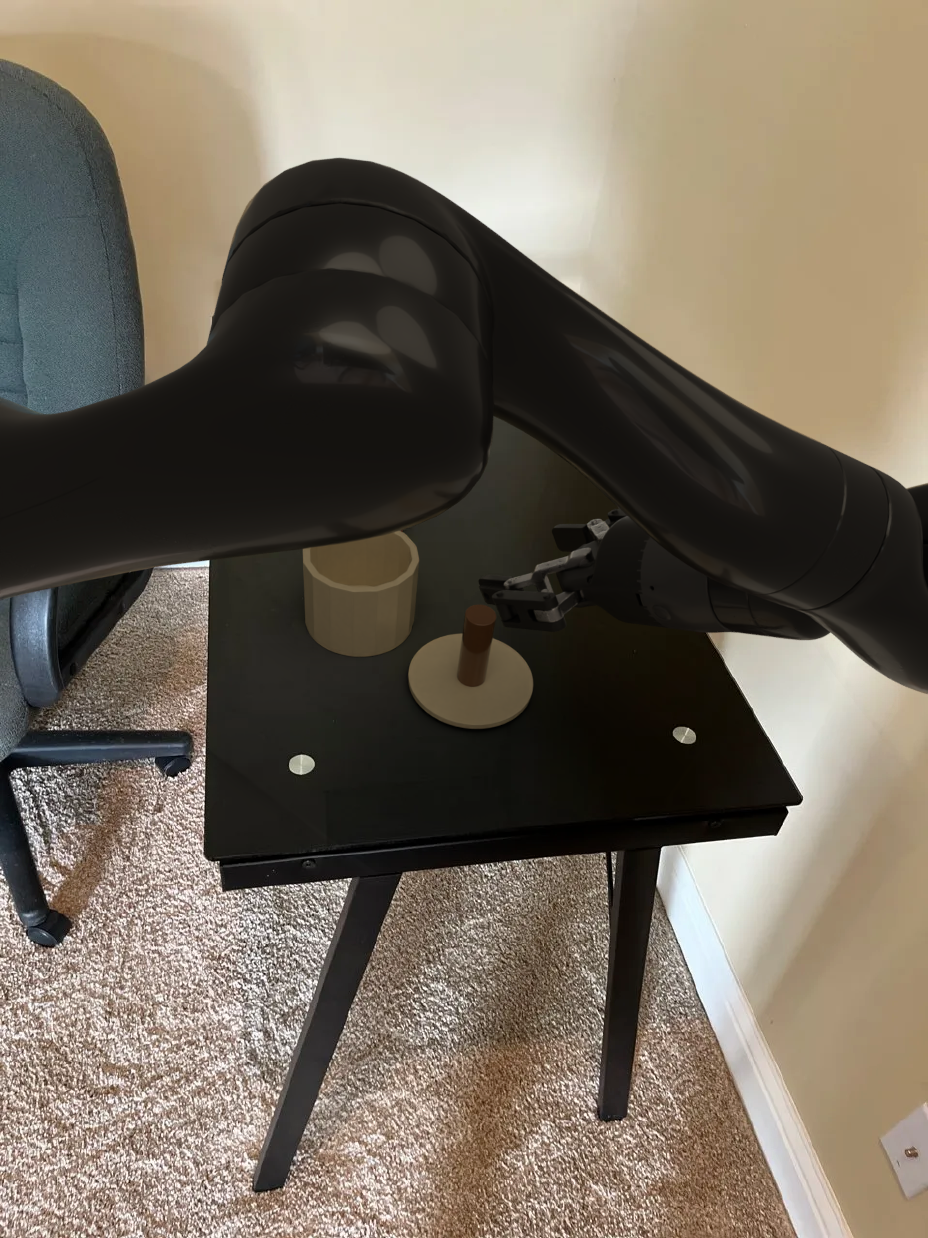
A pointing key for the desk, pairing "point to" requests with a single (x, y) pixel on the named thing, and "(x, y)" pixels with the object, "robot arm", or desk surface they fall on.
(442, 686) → the lid
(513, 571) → the desk surface
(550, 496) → the desk surface
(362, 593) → the canister
